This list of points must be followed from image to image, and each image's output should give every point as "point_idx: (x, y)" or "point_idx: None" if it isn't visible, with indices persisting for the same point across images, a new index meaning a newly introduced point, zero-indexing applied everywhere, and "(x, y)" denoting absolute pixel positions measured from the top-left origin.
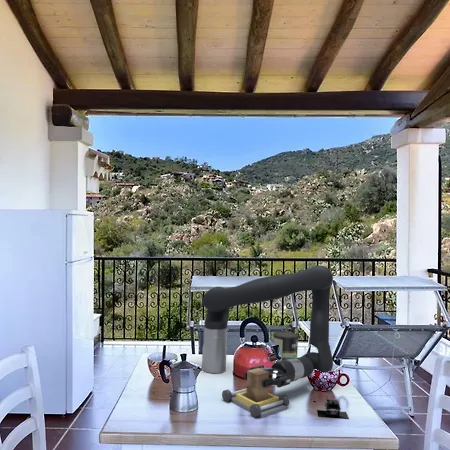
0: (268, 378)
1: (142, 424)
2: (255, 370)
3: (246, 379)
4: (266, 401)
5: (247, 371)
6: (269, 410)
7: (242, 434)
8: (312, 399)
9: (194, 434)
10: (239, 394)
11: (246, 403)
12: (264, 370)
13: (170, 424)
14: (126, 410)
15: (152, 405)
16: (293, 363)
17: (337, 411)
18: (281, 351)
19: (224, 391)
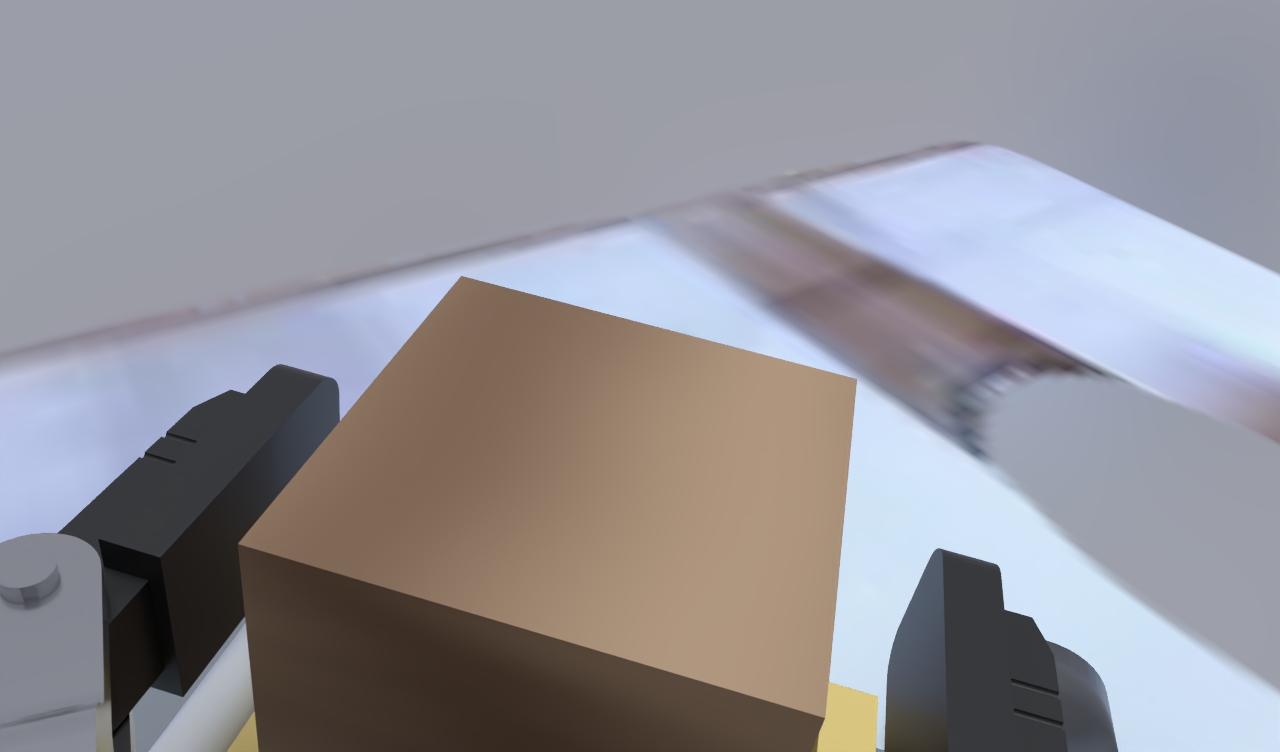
0: (259, 686)
1: (962, 207)
2: (713, 469)
3: (888, 675)
4: (241, 733)
5: (844, 393)
6: (158, 732)
7: (318, 294)
8: None
9: (633, 214)
10: (825, 718)
11: None
12: (469, 603)
13: (856, 244)
14: (1214, 271)
15: (1235, 363)
16: None
17: None
18: None
19: (1062, 661)
